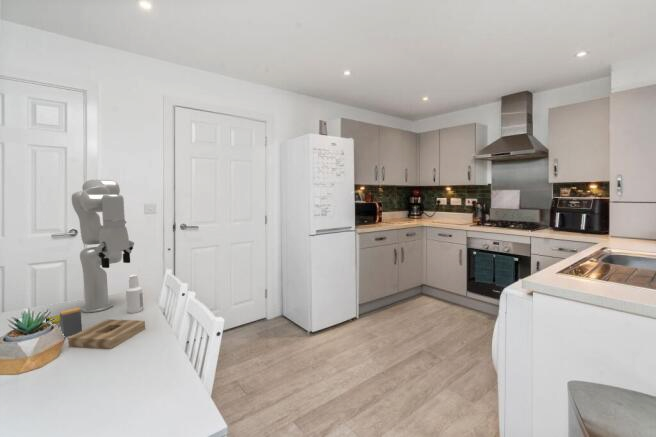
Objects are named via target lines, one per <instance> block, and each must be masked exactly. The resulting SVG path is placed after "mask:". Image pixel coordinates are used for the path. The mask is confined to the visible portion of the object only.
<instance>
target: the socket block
mask: <svg viewBox="0 0 656 437" xmlns="http://www.w3.org/2000/svg"><path fill="white" fill-rule="evenodd" d="M144 330H146V321H145V320H132V319H111V318H107V319H105V320H103V321H100V322H98V323H97V324H93V325H92V326H90V327H87V328H85V329H82V331H81V332H79V333H77V334H74V335H71V336H67V341H68V344H67V346H68V348H70V347H71V348H86V349H87V348H89V349H108V350H112V349H114V348H115V347H117V346H118V345H121V344H122V343H124V342H125V341H127V340H129V339H131V338H132V337H134V336H135V335H137V334H139V333H140V332H143V331H144Z"/></svg>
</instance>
